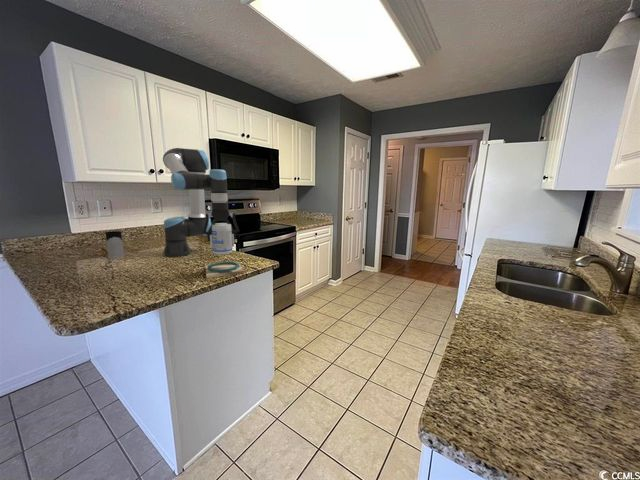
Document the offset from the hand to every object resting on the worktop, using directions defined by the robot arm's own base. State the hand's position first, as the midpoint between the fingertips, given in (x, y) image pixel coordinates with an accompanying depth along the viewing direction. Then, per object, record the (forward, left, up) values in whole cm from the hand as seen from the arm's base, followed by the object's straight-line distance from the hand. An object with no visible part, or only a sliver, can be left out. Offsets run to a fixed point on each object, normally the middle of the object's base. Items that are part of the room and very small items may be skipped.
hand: (222, 246), depth 133 cm
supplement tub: (0, 0, -3) cm, 3 cm away
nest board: (0, 0, -13) cm, 13 cm away
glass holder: (-57, -58, -13) cm, 82 cm away
